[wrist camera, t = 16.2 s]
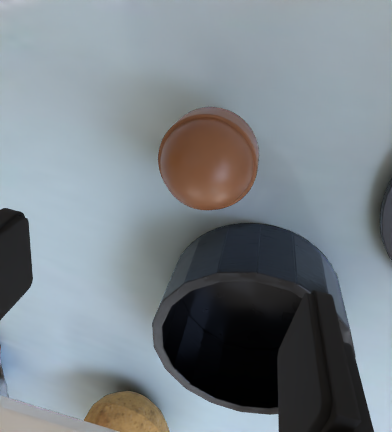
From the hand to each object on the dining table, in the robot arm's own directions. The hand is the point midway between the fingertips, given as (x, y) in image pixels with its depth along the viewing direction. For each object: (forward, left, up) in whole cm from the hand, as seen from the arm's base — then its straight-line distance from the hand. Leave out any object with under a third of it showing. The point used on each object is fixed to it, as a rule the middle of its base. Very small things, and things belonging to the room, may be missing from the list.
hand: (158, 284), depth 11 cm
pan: (+13, +6, -16) cm, 21 cm away
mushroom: (0, 0, -16) cm, 16 cm away
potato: (+35, -2, -16) cm, 39 cm away
